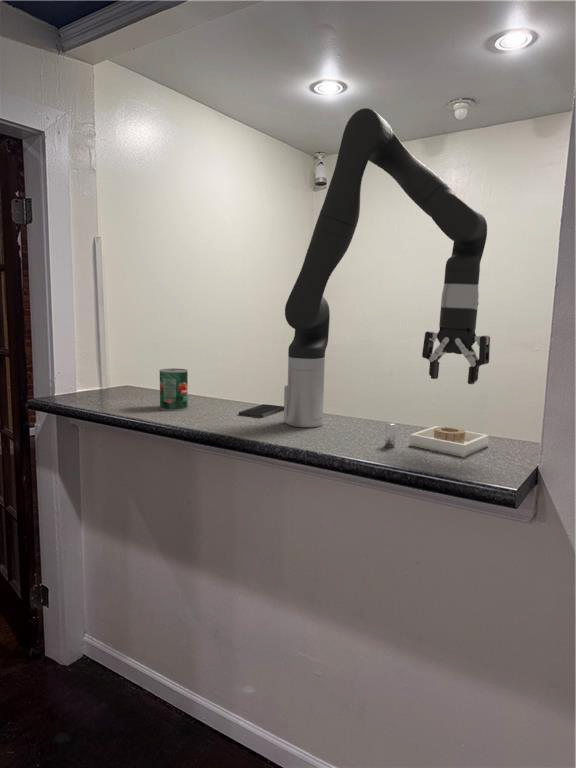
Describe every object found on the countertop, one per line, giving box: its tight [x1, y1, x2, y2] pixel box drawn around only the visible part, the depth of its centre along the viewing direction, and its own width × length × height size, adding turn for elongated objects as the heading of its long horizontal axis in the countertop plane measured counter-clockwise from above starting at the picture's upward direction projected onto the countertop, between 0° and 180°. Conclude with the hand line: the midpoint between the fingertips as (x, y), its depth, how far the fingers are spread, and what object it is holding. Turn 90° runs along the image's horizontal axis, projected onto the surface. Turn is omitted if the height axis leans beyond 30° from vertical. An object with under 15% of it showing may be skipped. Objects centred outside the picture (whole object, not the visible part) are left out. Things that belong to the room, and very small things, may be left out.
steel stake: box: [384, 422, 397, 448], centre depth 118 cm, size 2×2×5 cm
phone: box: [238, 403, 284, 419], centre depth 152 cm, size 8×1×15 cm
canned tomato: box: [158, 368, 189, 412], centre depth 154 cm, size 8×8×11 cm
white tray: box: [408, 425, 490, 458], centre depth 119 cm, size 13×13×2 cm
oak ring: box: [434, 426, 466, 444], centre depth 119 cm, size 6×6×3 cm
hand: (452, 381), depth 117 cm, fingers open, 8 cm apart
